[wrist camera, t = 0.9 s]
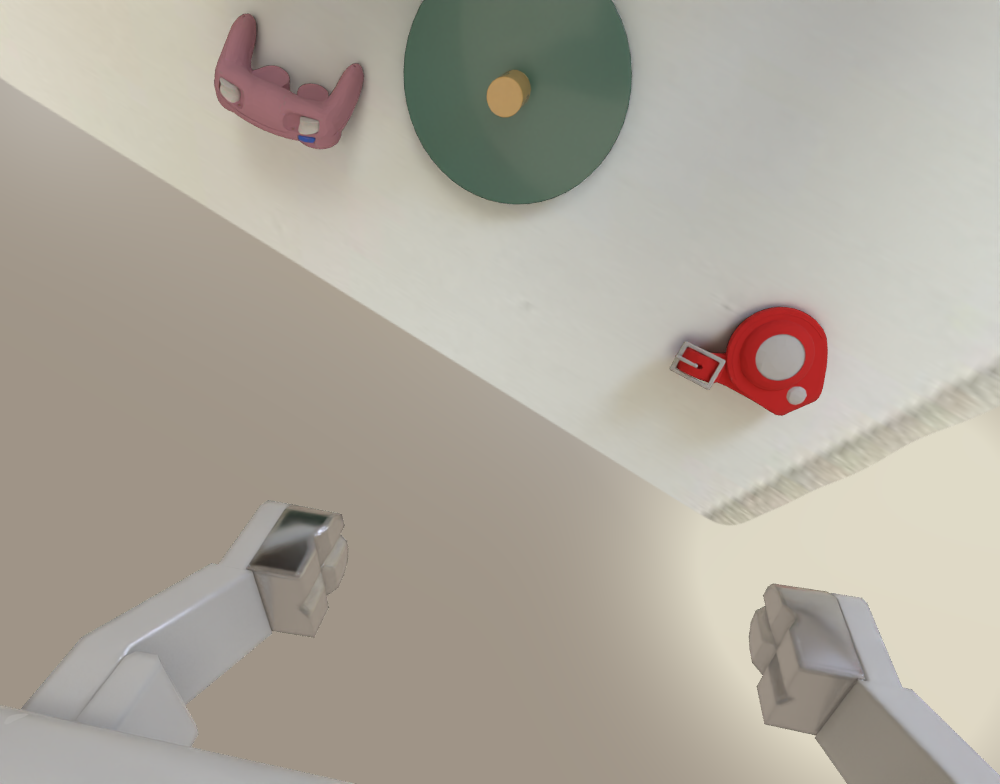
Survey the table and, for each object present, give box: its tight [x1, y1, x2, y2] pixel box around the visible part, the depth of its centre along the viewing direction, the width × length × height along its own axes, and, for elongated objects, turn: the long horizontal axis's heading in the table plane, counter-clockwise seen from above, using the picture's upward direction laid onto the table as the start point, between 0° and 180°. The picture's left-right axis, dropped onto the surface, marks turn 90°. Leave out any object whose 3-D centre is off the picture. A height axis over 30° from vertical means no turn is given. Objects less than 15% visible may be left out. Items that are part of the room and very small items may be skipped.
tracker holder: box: [670, 307, 828, 416], centre depth 49 cm, size 12×4×10 cm
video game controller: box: [214, 14, 364, 149], centre depth 42 cm, size 10×5×7 cm, turn 69°
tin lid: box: [404, 0, 632, 204], centre depth 39 cm, size 16×16×5 cm
